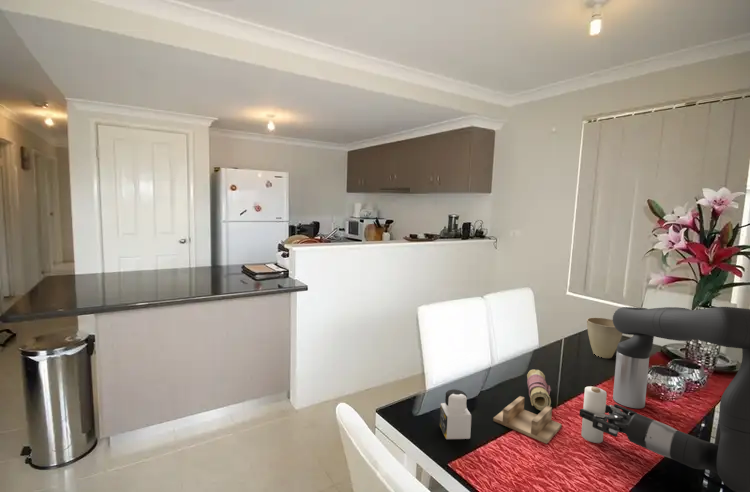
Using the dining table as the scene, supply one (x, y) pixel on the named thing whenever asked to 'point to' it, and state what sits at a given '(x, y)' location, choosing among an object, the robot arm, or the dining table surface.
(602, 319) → the plant pot
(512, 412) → the stand
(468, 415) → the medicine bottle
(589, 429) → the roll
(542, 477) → the dining table surface
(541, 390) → the scroll
